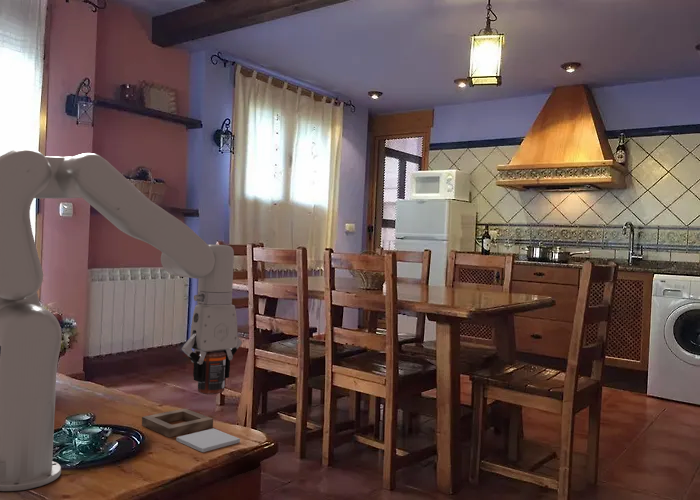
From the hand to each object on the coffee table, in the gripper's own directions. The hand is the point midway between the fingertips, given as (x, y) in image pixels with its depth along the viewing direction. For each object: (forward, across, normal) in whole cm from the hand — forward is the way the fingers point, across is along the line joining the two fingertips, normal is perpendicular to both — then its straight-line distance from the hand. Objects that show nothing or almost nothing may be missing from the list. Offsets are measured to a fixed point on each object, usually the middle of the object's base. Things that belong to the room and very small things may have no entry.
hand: (211, 378), depth 132 cm
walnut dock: (+14, +1, +14) cm, 20 cm away
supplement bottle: (+3, 0, 0) cm, 3 cm away
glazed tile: (+14, 0, 0) cm, 14 cm away
